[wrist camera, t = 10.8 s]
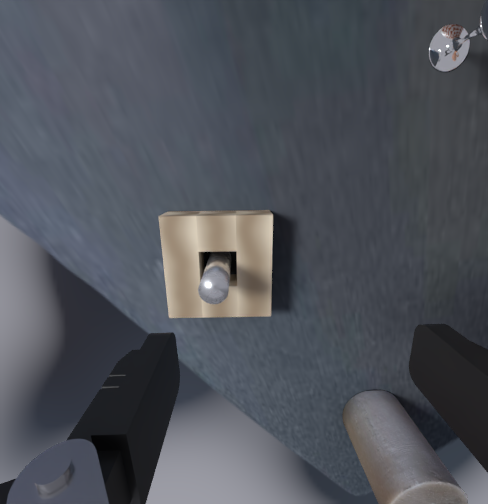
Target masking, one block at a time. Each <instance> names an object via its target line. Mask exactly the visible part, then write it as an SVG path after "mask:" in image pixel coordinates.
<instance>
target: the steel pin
mask: <svg viewBox="0 0 488 504" xmlns="http://www.w3.org/2000/svg"><path fill="white" fill-rule="evenodd" d="M231 260H232V258H231V255H230V253H229V252H228V251H221V252H212V253H211V254H210V257H209V259H208V262H207V265H206V268H205V270H204V273H203V276H202V279H201V282H200V284H199V288H198V293H199V296H200V297H201V299H202V300H203V301H205V302H206V303H209V304H219V303H221V302H223V301H224V300H225V299H226V298H227V296H228V292H229V282H230V271H231Z"/></svg>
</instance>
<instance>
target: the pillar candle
mask: <svg viewBox="0 0 488 504" xmlns="http://www.w3.org/2000/svg"><path fill="white" fill-rule="evenodd" d="M343 423H344V426H345V428H346V430H347V432H348V435H349V437H350V439H351V442H352V444H353V446H354V448H355V451H356V453H357V456H358V458H359V460H360V462H361V465H362V467H363V469H364V471H365V474H366V476H367V478H368V480H369V483H370V485H371V487H372V490H373V492H374V494H375V497H376V498H377V501H378V503H379V504H468V500H467V498H468V497H467V494H466V493H465V492H464V491H463V490H462V489H461V488H460V486H459V485H458V484H457V482H456V481H455V479H454V478H453V477H452V475H451V474H450V473H449V471H448V470H447V468H446V467H445V465H444V464H443V463H442V461H441V460H440V458H439V457H438V455H437V454H436V453H435V451H434V450H433V448H432V447H431V446H430V444H429V443H428V441H427V440H426V439H425V437H424V436H423V434H422V433H421V432H420V430H419V429H418V427H417V426H416V424H415V423H414V422H413V420H412V419H411V418H410V416H409V415H408V413H407V412H406V411H405V409H404V408H403V407H402V405H401V404H400V402H399V401H398V399H397V398H396V397H395V396H394V395H393V394H391V393H389V392H388V391H385V390H371V391H364V392H360V393H358V394H357V395H355V396H354V397H352V398H351V399H350V400H349V401H348V402H347V404H346V405H345V407H344V410H343Z"/></svg>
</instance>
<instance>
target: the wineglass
mask: <svg viewBox="0 0 488 504" xmlns="http://www.w3.org/2000/svg"><path fill="white" fill-rule="evenodd" d="M482 34H483V36H484V38H485V39H486V40H487V41H488V0H485V2H484V4H483V7H482V10H481V15H480V25H479V26H478V27H477V28H476V29H475V30H474V31H472V32H471V33H470V34H468V32H467V31H466V29H465V28H464V27H462V26H460V25H458V24H450V25H446V26H444V27H443V28H441V29H440V30H439V31H437V33H436V34H435V35H434V36H433V38H432V40H431V42H430V45H429V50H428V56H429V60H430V63H431V65H432V66H433V67H434V68H435V69H436V70H438V71H441V72H448V71H451V70H453V69H455V68H457V67H458V66H459V65H460V64H461V63H462V62H463V61H464V59H465V58H466V56H467V54H468V51H469V47H470V38H472V37H474V36H477V35H482Z"/></svg>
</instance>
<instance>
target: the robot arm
mask: <svg viewBox="0 0 488 504" xmlns="http://www.w3.org/2000/svg"><path fill="white" fill-rule="evenodd" d="M409 371H410V375H411V378H412V380H413V382H414V383H415V385H416V386H417V387H418V389H419V390H420V391H421V392H422V393H423V395H424V396H425V397H426V398H427V400H428V401H429V402H430V403H431V404H432V406H433V407H434V408H435V409H436V410H437V412H438V413H439V414H440V415H441V417H442V418H443V419H444V420H445V421H446V423H447V424H448V425H449V426H450V427H451V429H452V430H453V431H454V432H455V433H456V435H457V436H458V437H459V438H460V440H461V441H462V442H463V443H464V444H465V446H466V447H467V448H468V449H469V450H470V452H471V453H472V454H473V455H474V456H475V458H476V459H477V460H478V461H479V463H480V464H481V465H482V466H483V467H484V469H485V470H486V471H487V472H488V350H487V349H485V348H483V347H481V346H479V345H477V344H475V343H473V342H471V341H469V340H468V339H466V338H465V337H463V336H462V335H461V334H459V333H458V332H457V331H455V330H454V329H452V328H451V327H450V326H448V325H446V324H424V325H418V326H417V327H416V329H415V332H414V338H413V344H412V350H411V355H410V361H409ZM179 382H180V370H179V363H178V354H177V346H176V338H175V335H174V333H151V334H149V335H148V337H147V339H146V340H145V342H144V344H143V346H142V347H141V349H140V350H132V351H131V352H129V353H128V354H127V355H126V356H124V357H123V358H122V359H121V360H120V361H118V363H117V364H116V366H115V367H114V369H113V371H112V372H111V374H110V377H109V378H107V380H106V381H105V383H104V384H103V386H102V389H100V390H99V392H98V393H97V395H96V396H95V398H94V399H93V401H92V402H91V404H90V405H89V407H88V408H87V410H86V411H85V413H84V414H83V416H82V418H81V419H80V421H79V422H78V424H77V425H76V427H75V428H74V430H73V431H72V433H71V434H70V436H69V437H68V439H67V440H66V441H64V442H61V443H58V444H56V445H54V446H52V447H50V448H48V449H47V450H45V451H44V452H42V453H41V454H40V455H38V456H37V457H36V458H34V459H33V460H32V461H31V462H30V463H29V464H28V465H27V466H26V467H25V468H24V469H23V470H22V472H21V473H20V474H19V475H18V477H17V478H16V479H13V480H11V481H8V482H5V483H2V484H0V504H145V503H146V500H147V496H148V493H149V490H150V486H151V483H152V480H153V476H154V472H155V469H156V466H157V462H158V459H159V456H160V452H161V449H162V445H163V442H164V438H165V435H166V431H167V428H168V425H169V421H170V418H171V414H172V411H173V407H174V404H175V401H176V397H177V394H178V390H179Z"/></svg>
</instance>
